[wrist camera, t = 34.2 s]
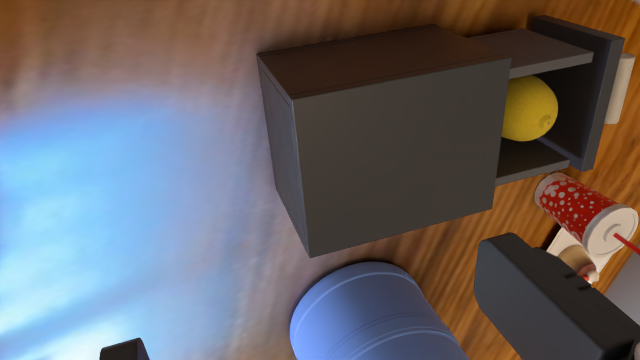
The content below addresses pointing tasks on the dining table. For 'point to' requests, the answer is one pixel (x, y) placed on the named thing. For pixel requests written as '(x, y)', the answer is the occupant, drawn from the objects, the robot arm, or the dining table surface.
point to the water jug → (370, 318)
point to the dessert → (577, 256)
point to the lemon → (528, 109)
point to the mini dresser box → (563, 92)
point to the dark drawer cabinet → (383, 132)
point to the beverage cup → (587, 215)
